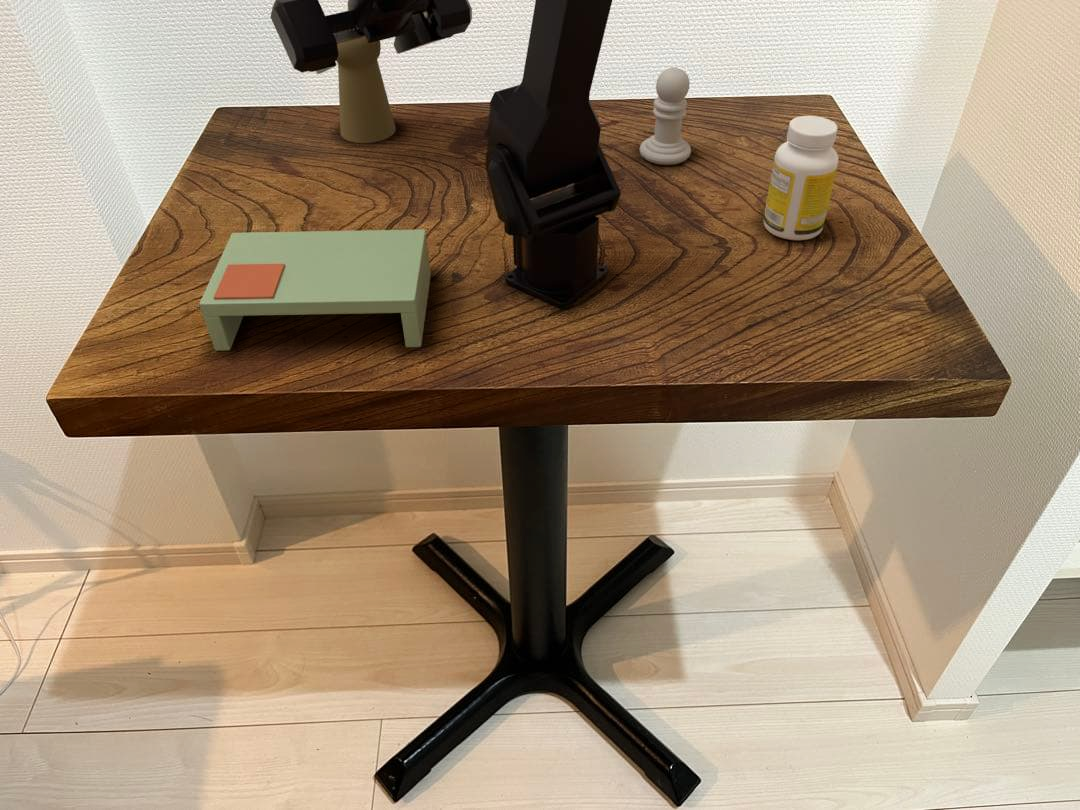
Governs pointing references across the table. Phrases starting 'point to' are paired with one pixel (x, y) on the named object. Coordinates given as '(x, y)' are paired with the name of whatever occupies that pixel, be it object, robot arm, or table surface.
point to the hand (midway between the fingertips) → (357, 58)
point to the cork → (362, 93)
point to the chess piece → (668, 120)
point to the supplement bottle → (802, 179)
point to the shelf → (319, 278)
